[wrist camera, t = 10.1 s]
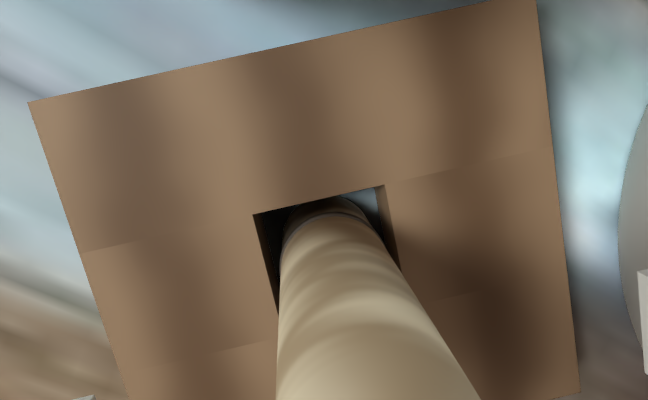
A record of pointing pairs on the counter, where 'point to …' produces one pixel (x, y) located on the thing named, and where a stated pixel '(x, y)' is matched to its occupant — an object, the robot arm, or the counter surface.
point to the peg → (354, 316)
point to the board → (321, 182)
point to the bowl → (634, 224)
